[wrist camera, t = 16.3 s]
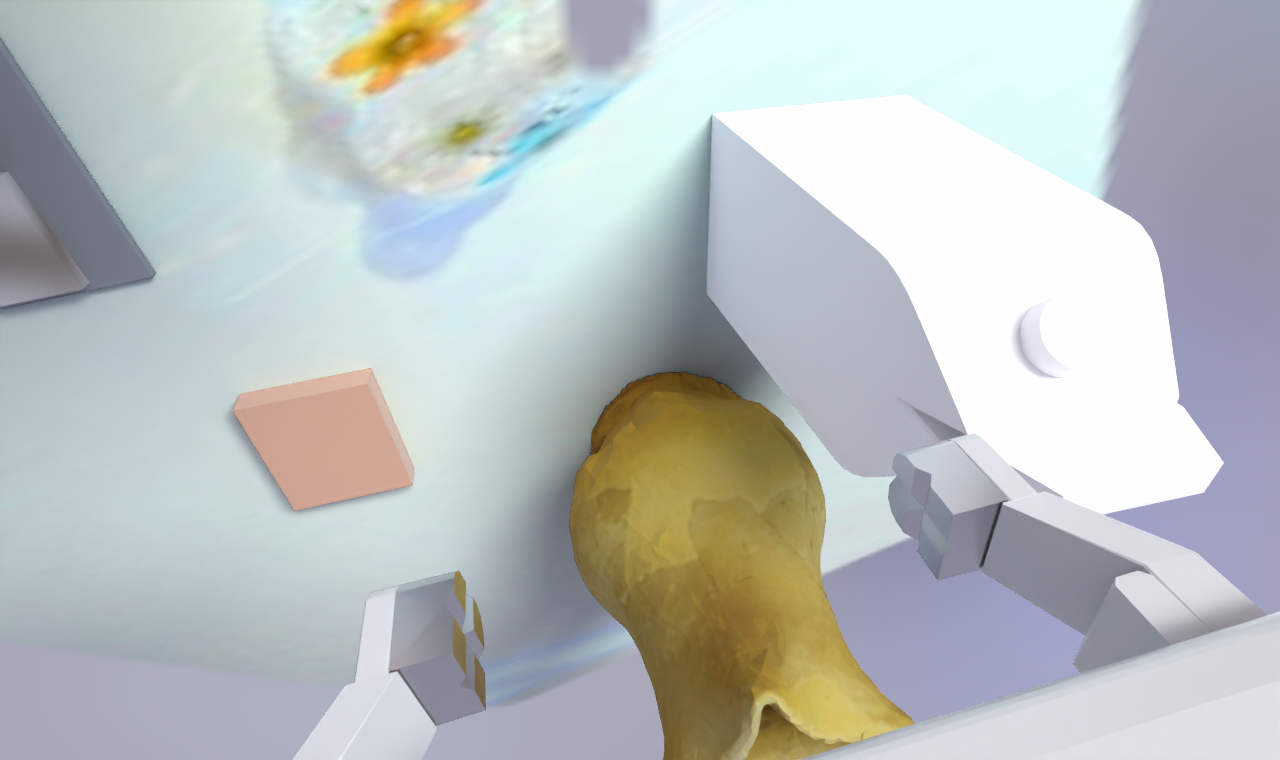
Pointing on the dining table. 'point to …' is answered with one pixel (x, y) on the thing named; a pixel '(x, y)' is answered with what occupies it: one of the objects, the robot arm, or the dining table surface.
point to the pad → (62, 187)
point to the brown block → (31, 252)
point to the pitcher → (720, 574)
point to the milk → (948, 300)
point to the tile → (327, 438)
